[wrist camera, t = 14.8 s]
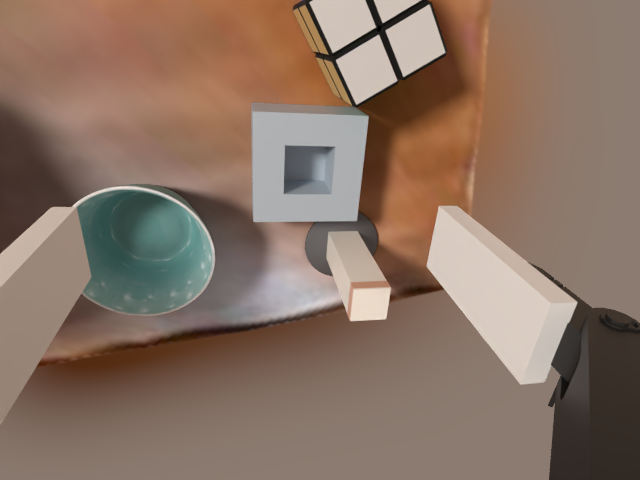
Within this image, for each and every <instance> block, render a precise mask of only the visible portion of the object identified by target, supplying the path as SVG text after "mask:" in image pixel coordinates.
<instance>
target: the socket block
mask: <svg viewBox="0 0 640 480" xmlns="http://www.w3.org/2000/svg"><path fill="white" fill-rule="evenodd" d="M368 119H369V116H368V115H367V114H365V113H364V112H362V111H360V110H359V109H357V108H356V107H345V106H322V105H298V104H275V103H252V102H251V126H252V208H253V222H314V221H357V216H358V207H359V198H360V189H361V181H362V172H363V163H364V154H365V146H366V137H367V128H368Z"/></svg>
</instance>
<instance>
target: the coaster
mask: <svg viewBox="0 0 640 480" xmlns="http://www.w3.org/2000/svg"><path fill="white" fill-rule="evenodd" d="M340 231H358V233H359V235H360V236H361V238H362V240H363V241H364V243H365V245H366V246H367V248H368V250H369V252H370V253H371V255H372V257H373V255H374V253H375V251H376V248H377V233H376V230H375V227H374V226H373V224H372V222H371V221H370V220H369V219H368V218H367V217H366V216H364V215H363V214H361V213H359V212H358V216H357V221H316V222H315V223H314V224H313V226H312V227H311V228H310V230H309V232H308V234H307V237H306V242H305V250H306V254H307V258H308V260H309V262H310V263H311V265H312V266H313V267H314V268H315V269H317V270H318V271H319V272H321V273H323V274H326V275H329V276H333V274H332V272H331V269H330V266H329V264H328V261H327V259H326V256H327V243H328V232H340Z"/></svg>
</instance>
